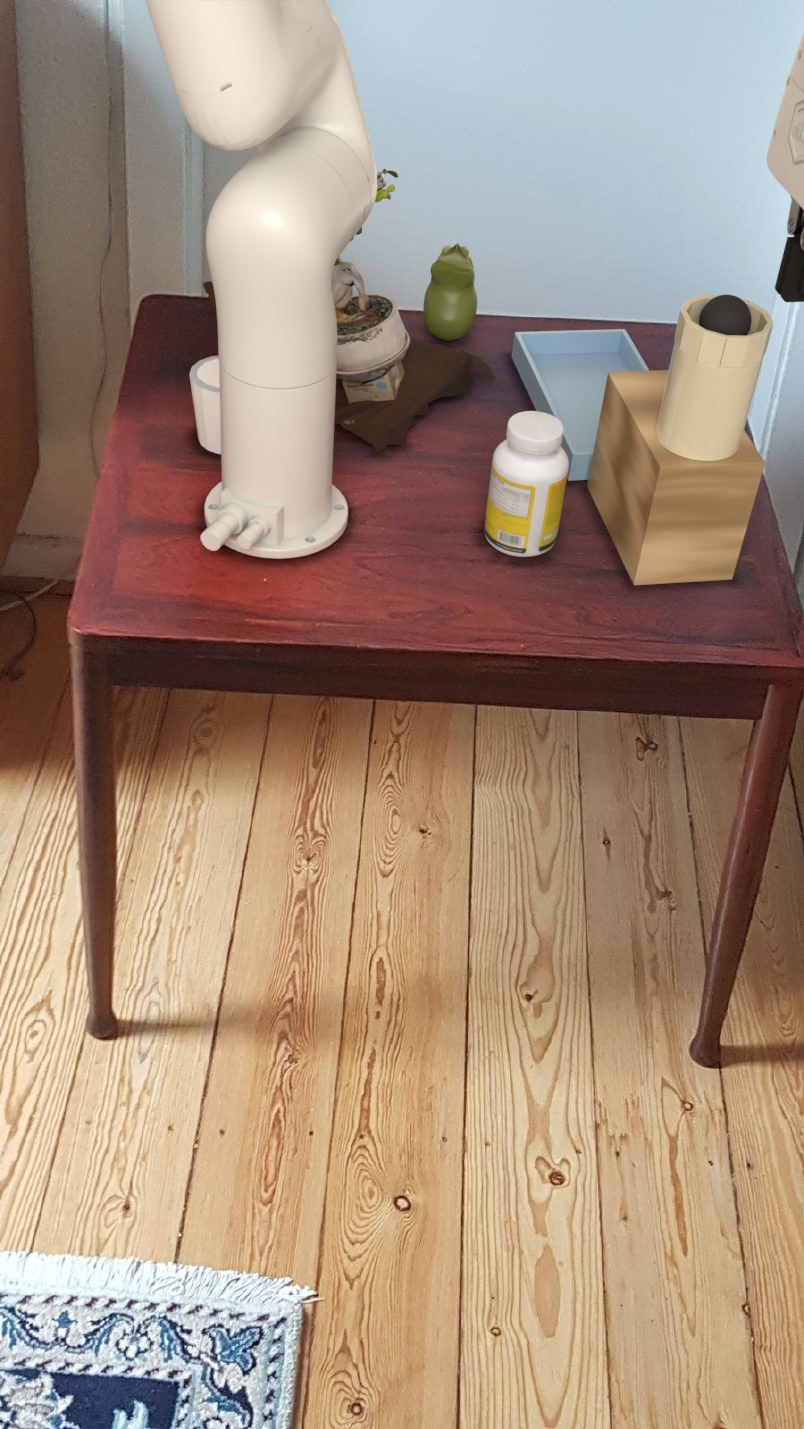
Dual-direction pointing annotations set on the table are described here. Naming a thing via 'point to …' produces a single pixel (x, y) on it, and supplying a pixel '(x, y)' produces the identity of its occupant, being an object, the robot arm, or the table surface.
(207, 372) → the shot glass
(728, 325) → the ball
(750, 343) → the jar
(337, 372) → the potted plant
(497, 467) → the pill bottle
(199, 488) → the table surface
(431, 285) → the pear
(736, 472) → the plinth
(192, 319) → the table surface
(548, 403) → the tray
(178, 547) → the table surface
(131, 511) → the table surface
